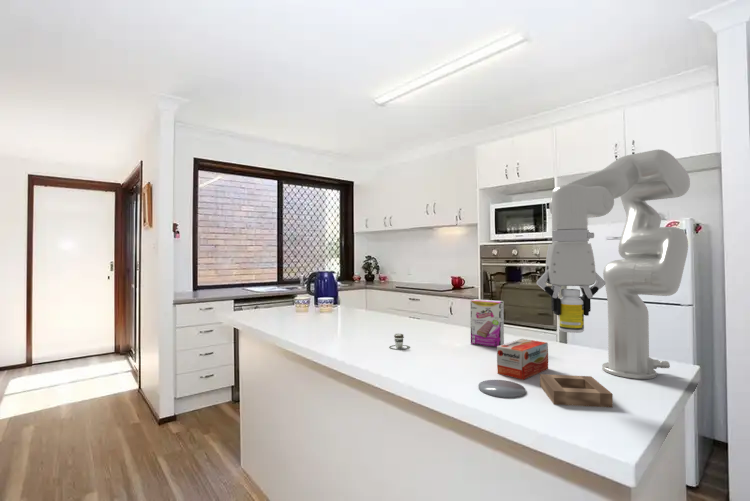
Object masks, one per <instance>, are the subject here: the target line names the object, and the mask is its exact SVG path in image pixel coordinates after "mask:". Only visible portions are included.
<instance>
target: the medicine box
mask: <svg viewBox="0 0 750 501" xmlns="http://www.w3.org/2000/svg"><path fill="white" fill-rule="evenodd" d="M496 366H497V369H496V370H497V374H498V375H502V376H505V377H511V378H514V379H517V380H522V381H524V380H527V379H530V378H531V377H533V376H536V375H538V374H541V373H542V372H545V371H546V370H548V369H549V344H548V341H547V342H546V341H538V340H533V339H528V338H519V339H517V340H512V341H510V342H507V343H504V344H503V345H500V346H497V347H496Z"/></svg>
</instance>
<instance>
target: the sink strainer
mask: <svg viewBox="0 0 750 501" xmlns="http://www.w3.org/2000/svg"><path fill="white" fill-rule="evenodd" d="M393 336H394V337H393V338H394V342H395V343H394V344H393V345H390V346H389V347H388V349H390V350H395V351H404V350H405V351H406V350H410V349H411V346H410V345H406V344H404V338H405V336H404V334H403V333H395V334H394V335H393ZM394 347H395V348H394ZM403 347H405V348H403Z"/></svg>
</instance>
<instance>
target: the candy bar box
mask: <svg viewBox="0 0 750 501" xmlns="http://www.w3.org/2000/svg"><path fill="white" fill-rule="evenodd" d="M504 306H505V302H504V301H503V300H492V299H491V300H490V299H480V298H479V299H477V298H475V299H474V298H473V299H471V300H470V345H475V346H476V345H477V346H484V347H491V348H492V347H493V348H497V346H500V345H503V344H505V332H504V331H505V329H504V328H505V326H504V325H505V321H504V320H505V319H504V318H505V317H504V316H505V314H504V313H505V312H504V310H505V309H504V308H505V307H504Z"/></svg>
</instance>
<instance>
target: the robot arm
mask: <svg viewBox="0 0 750 501" xmlns="http://www.w3.org/2000/svg"><path fill="white" fill-rule="evenodd" d="M690 186H691V178H690V176H689V173H688V171H687V170H686V168H684V166H683V165H682V164H681V163H680V162H679V161H678V159H677V158H676V157H674V155H673V154H672V153H670V152H668V151H666V150H664V149H652V150H647V151H643V152H637V153H632V154H628V155H623V156H622V157H621V156H620V157H619V158H617V159H616V160H614V161H613V162H611V163H610V164H608V165H607V166H606V167H603V169H601V170H599V171H597V172H594V173H591V174H589V175H587V176H586V175H585V176H584V177H582V178H579V179H576V180H574V181H572V182H569V183H567V184H564V185H559V186H556V187H554V188H553V190H552V192H551V198H550V200H549V205H548V206H549V212H550V214H551V238H552V239H551V241H552V242H551V243H549V244H548V245H547V252H546V257H545V259H546V260H545V271H544V273H543V274H542V275H541V276H540V277H539V278H538V279H537V281H536V285H538V287H540V288H541V289H542V290H544V292H545V293H547V295H548V296H550V299H551V300H550V301H551V302H550V303H551V304H550V305H551V306H550V307H551V311H552V312H553V314H554V315H556V316H558V315H561V300H560V298H561V297H559V296H560V293H561V289H562V287H579V290H580V293H581V294H582V295H581V296H580V297H579V298H580V299H582V300H583V303H584V317H585V316H586V317H587V316H588V317H589V315H590V312H591V304H592V303H591V299H592V298H593V296H595V295H596V294H597V293H598V291H599V290H601V289H602V288H603V287H604V288H605V291H606V300H607V301H606V302H607V344H608V347H607V348H608V353H607V354H608V357H607V358H608V362H604V363H602V364H601V365H602V370H603V371H604V372H606V373H607V374H610V375H614V376H617V377H621V378H627V379H635V380H650V379H654V378H656V377H657V371H656V370H657V368H660V369H670V366H671V365H670V362H669V361H668V360H659V359H654V358H652V357H650V335H649V334H650V327H649V321H650V320H649V316H650V315H649V309H648V307H647V305H646V304H645V302H644V301H643V300H642V299H641V297H640V295H641V296H643V295H645V296H655V297H656V296H657V297H659V296H660V297H667V296H668V297H669V296H672V295H675V294H676V293H678V290H679V288H680V285H681V284H682V282H681V281H682V278H683V274H684V269H685V265H686V262H687V256H688V251H689V241H688V237H687V236H688V235H687V234H686V232H685V231H684V230H683V229H682V228H679V227H675V226H661V224H662V217H661V216H660V214H659V212H658V211H657V210H656V209H655V208H654V207H652V206H651V205H650V204H648V203H647V201H656V200H665V199H666V200H667V199H675V198H681V197H682V196H684V195H686V194H687V193H688V192H689V188H690ZM618 198H620V201H621V203H622V206H623V209H624V211H625V215H626V218H625V223H624V226H623V230H622V232H621V236H620V239H619V242H618V254H619V256H620V258H621V259H616V260H611V261H610V262H608V263H607V264H606V265H605V266H604V268H603V272H602V274H603V275H602V277H603V278H602V277H601V276H600V275H599V273H597V271H596V263H595V256H594V252H593V247H592V243H589V240H591V239H594V238H595V233H594V232H591V231H589V229H588V228H589V227H588V225H589V224H588V222H589V221H588V219H590V218H591V219H592V218H599V217H603V216H606V215H608V214H609V213H611V211H612V209H613V208H614V205H615V200H616V199H618ZM547 284H549V285H551V287H550V286H549V285H547Z"/></svg>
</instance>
